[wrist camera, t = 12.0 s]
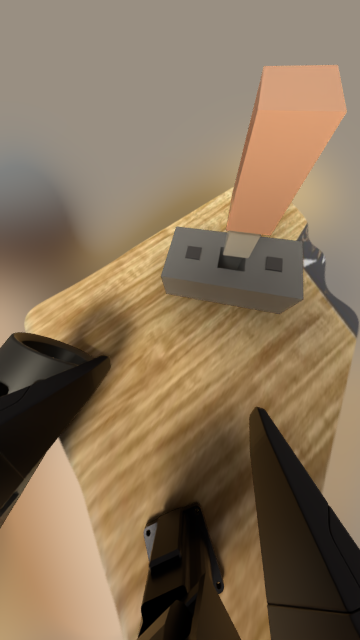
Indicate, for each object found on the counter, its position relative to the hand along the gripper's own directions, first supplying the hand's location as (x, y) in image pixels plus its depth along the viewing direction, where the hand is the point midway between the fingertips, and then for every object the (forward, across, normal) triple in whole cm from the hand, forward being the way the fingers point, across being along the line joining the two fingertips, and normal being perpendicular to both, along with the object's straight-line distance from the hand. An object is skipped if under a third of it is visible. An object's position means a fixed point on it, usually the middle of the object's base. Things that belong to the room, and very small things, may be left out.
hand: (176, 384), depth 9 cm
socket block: (+21, -2, -3) cm, 21 cm away
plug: (+16, -2, -7) cm, 18 cm away
